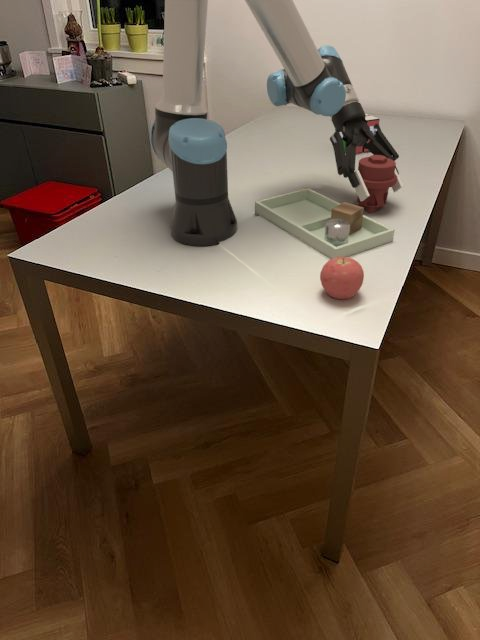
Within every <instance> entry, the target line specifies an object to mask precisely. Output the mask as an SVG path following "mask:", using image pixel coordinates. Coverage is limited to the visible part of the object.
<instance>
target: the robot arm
mask: <svg viewBox="0 0 480 640" xmlns="http://www.w3.org/2000/svg"><path fill="white" fill-rule="evenodd" d="M244 1H245V3H246V5H247V6H248V9H249V10H250V12H251V13H252V15H253V17H254V19H255V21H256V23H257V24H258V26H259V27H260V29H261V31H262V32H263V34H264V36H265V38H266V39H267V41H268V43H269V45H270V46H271V48H272V50H273V52H274V53H275V55H276V57H277V58H278V60H279V62H280V64H281V66H282V67H283V68H280V69H279V70H275V71H273V72H271V73H270V74H269V75H268V76H267V79H266V92H267V95H268V98H269V101H270V103H272V105H273V106H275V107H281V106H287V105H289V104H293V105H296V106H297V107H299V108H303V109H305V110H308V111H309V112H311V113H313V114H315V115H319V116H323V117H330V118H331V120H330V121H331V122H332V124H333V127H334V130H335V129H336V131H334V133H333V134H332V135H331V136H330V137H329V141H330V143H331V144H332V146H333V147H332V148H333V153H334V157H335V158H334V159H335V165H336V169H337V170H336V171H337V174H338V175H339V176H342V175H343V176H342V177H343V178H344V179H347V178H348V180H349V182H350V186H351V187H352V189H354V190H355V192H356V194H357V196H358V197H359V199H360V201H363V200H365V199H366V198H367V197H369V196H370V195H369V193H368V190H367V188H366V186H365V183H364V181H363V179H362V177H361V174H360V172H359V170H358V169H357V170H356V155H357V154H356V147H357V146H360V147H361V146H363V147H364V148H365V149H368V150H369V151H370V152H369V153H371V155H383V156H385V157H386V158H389V159H392V160H393V161H395V162H396V161H397V160H398V159H399V158H400V155H399V153H398V152H397V151H396V149H395V148H394V146H392V144H391V142H390V141H389V140H388V138H387V137H386V135H385V134H384V133H383V131H382V129H381V127H380V123H379V124H375V125H374V126H370V127H369V125H368V124H367V123H366V121H365V117H366V115H365V114H366V113H365V110H364V108H363V106H362V104H361V102H360V100H359V97H358V95H357V92H356V91H355V88H354V87H353V84H352V81H351V79H350V77H349V75H348V72H347V69H346V68H345V65H344V63H343V59H342V58H341V57H340V55H339V53H338V51H337V49H336V48H335V47H334V46H332V45H323V46H320V47H319V48H317V46H316V43H315V42H314V40H313V38H312V36H311V34H310V32H309V31H308V28H307V26H306V23H305V22H304V20H303V18H302V16H301V14H300V12H299V10H298V8H297V6H296V4H295V2H294V0H244ZM208 2H209V1H208V0H164V19H163V20H164V21H163V22H164V24H163V25H164V26H163V27H164V28H163V31H164V32H163V60H162V61H163V65H162V98H161V99H160V100H159V101H158V102H157V103H156V104H155V106H154V107H155V108H154V109H155V110H154V112H155V113H154V121H153V122H152V123H151V124H152V125H151V127H150V131H149V139H150V145H151V148H152V150H153V152H154V154H155V155H156V157H157V158H158V159H159V160H160V161H161V162H162V163H163V164H164V165H165V166H166V167H167V168H168V169H169V170H170V172H172V178H173V189H174V197H175V198H174V199H175V202H174V206H173V211H172V214H171V215H172V216H171V220H170V233H171V237H172V238H173V239H174V240H175V241H177V242H178V243H181V244H183V245H184V244H185V245H188V246H195V247H197V246H198V247H199V246H201V247H202V246H203V247H206V246H214V245H217V244H218V245H219V244H220V243H221V242H224V241H227V240H228V239H230V238H231V237H233V236H234V235H235V234H236V233H237V232H238V231H237V230H238V221H237V217H236V215H235V211H234V208H233V206H232V204H231V202H230V199H229V185H228V184H229V183H228V181H229V179H228V178H229V177H228V156H227V155H228V154H227V150H228V142H227V138H226V132H225V130H224V128H223V126H222V125H221V124H219V123H218V122H216V121H214V120H211V119H208V109H207V108H206V107H205V106H204V104H203V102H202V95H203V94H202V93H203V79H204V68H205V67H204V65H205V53H206V52H205V51H206V50H205V49H206V36H207V35H206V34H207V17H208V6H209V5H208ZM368 140H370V141H369V142H368ZM343 141H345V149H344V143H343ZM367 142H368V143H367ZM345 151H346V153H345ZM394 173H395V174H396V175H397V182H396V184H395V185H394V186H392V187H391V189H392V191H393V193H396V192H398V191H399V190H401V189H402V188H403V187H404V184H403V181H402V180H401V178H400V173H399V170H398V167H397V165H396V166H395V172H394Z"/></svg>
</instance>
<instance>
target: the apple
mask: <svg viewBox="0 0 480 640" xmlns="http://www.w3.org/2000/svg"><path fill="white" fill-rule="evenodd" d="M319 274H320V275H319V278H320V282H321V286H322V288H323V289H324V291H325V292H326V294H327V295H329V296H330V297H332V298H334V299H337V300H348V299H351V298H353V297H354V296H355V295H357V293H358V292H359V291H360V289H361V287H362V286H363V283H364V279H365V275H364V274H365V273H364V269H363V267H362V265H361V264H360V263H359V262H358V261H357V260H355V259H353V258H352V257H349V256H347V257H337V258H333V259H331V258H330V259H329V260H328V261H327V262H326V263H325V264H323V266H322V269H321V271H320V273H319Z"/></svg>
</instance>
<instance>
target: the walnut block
mask: <svg viewBox="0 0 480 640" xmlns="http://www.w3.org/2000/svg"><path fill="white" fill-rule="evenodd" d="M364 210H365V208H364V207H362V206H359V205H357V204H353V203H350V202H346V201H344V202H342V203H340V205H338V206H336V207H334V208H332V211H331V219H344V220H346V221H348V222H349V223H350V231H349V236H350V235H351V234H353V233H355V232H357V231H358V230H360V229H361V227H362V219H363V215H364Z"/></svg>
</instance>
